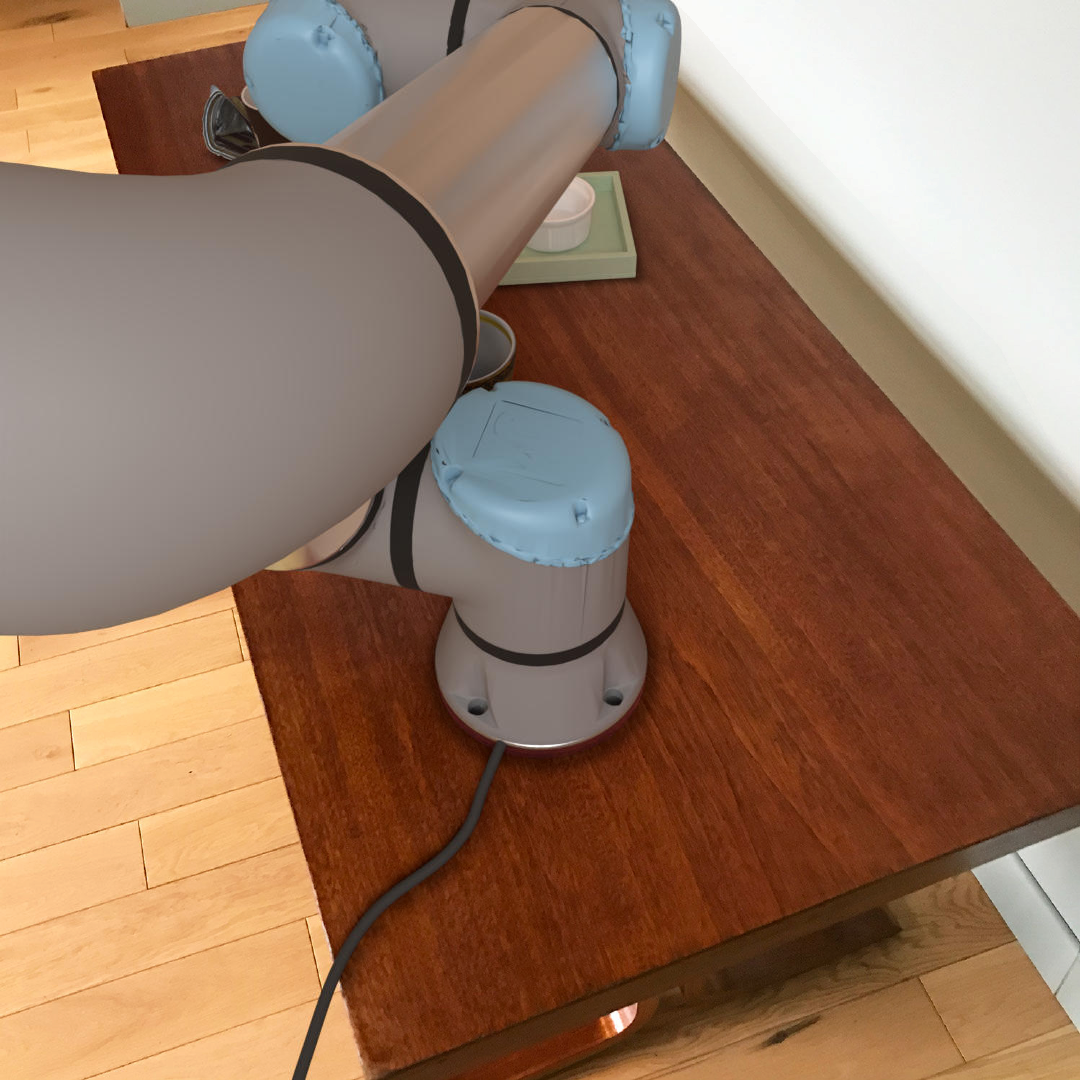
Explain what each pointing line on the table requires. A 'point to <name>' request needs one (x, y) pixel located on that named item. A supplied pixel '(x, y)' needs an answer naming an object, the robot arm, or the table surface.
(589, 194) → the ramekin
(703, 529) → the table surface
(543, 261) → the tray
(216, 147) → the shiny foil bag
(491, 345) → the ceramic cup
